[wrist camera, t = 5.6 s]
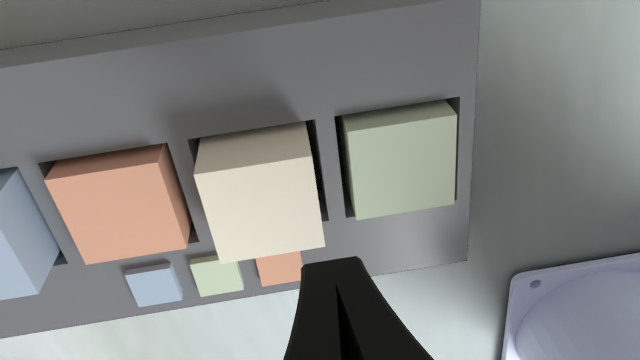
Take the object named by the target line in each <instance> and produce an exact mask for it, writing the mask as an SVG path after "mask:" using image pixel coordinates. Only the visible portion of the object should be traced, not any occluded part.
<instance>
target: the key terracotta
mask: <svg viewBox="0 0 640 360" xmlns="http://www.w3.org/2000/svg"><path fill="white" fill-rule="evenodd" d="M44 182H45V184H46V186H47V188H48V190H49V192H50V194H51V196H52V198H53V200H54V202H55V204H56V206H57V208H58V210H59V212H60V214H61V216H62V218H63V220H64V222H65V224H66V226H67V228H68V230H69V232H70V234H71V236H72V238H73V240H74V242H75V244H76V246H77V248H78V250H79V252H80V254H81V256H82V258H83V260H84V262H85V264H86V265H89V264H95V263H101V262H107V261H113V260H119V259H125V258H131V257H137V256H143V255H150V254H156V253H162V252H168V251H174V250H180V249H186V248H187V245H188V239H189V233H190V227H191V222H192V217H191V214H190V211H189V208H188V205H187V202H186V198H185V195H184V192H183V189H182V186H181V183H180V180H179V177H178V174H177V171H176V167H175V164H174V161H173V158H172V155H171V152H170V149H169V146H168V143H161V144H155V145H149V146H142V147H136V148H130V149H123V150H117V151H111V152H104V153H98V154H92V155H85V156H79V157H73V158H66V159H60V160H57V161H56V163H55V164H54V166H53V167H52V169H51V170H50V172H49V174H48V175H47V177H46V178H45V180H44Z"/></svg>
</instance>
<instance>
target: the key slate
mask: <svg viewBox="0 0 640 360" xmlns="http://www.w3.org/2000/svg"><path fill="white" fill-rule="evenodd" d="M60 250H61V249H60V247H59V245H58V243H57V241H56V239H55V237H54V235H53V234H52V232H51V230H50V228H49V226H48V224H47V222H46V220H45V218H44V216H43V214H42V212H41V211H40V209H39V207H38V205H37V203H36V201H35V199H34V197H33V195H32V193H31V191H30V189H29V188H28V186H27V184H26V182H25V180H24V178H23V176H22V174H21V172H20V170H19V168H18V167H17V166H16V167H9V168H3V169H0V300H6V299H12V298H18V297H24V296H30V295H36V294H39V292H40V290H41V288H42V286H43V284H44V282H45V280H46V278H47V276H48V274H49V272H50V270H51V268H52V266H53V264H54V262H55V260H56V258H57V256H58V254H59V252H60Z"/></svg>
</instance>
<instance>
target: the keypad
mask: <svg viewBox="0 0 640 360" xmlns="http://www.w3.org/2000/svg"><path fill="white" fill-rule="evenodd" d="M480 4H481V0H327V1H321V2H314V3H307V4H301V5H294V6H288V7H281V8H274V9H268V10H261V11H254V12H248V13H241V14H235V15H228V16H221V17H215V18H208V19H202V20H195V21H188V22H182V23H175V24H168V25H162V26H155V27H149V28H142V29H135V30H129V31H122V32H115V33H109V34H102V35H96V36H89V37H82V38H76V39H69V40H63V41H56V42H49V43H43V44H36V45H29V46H23V47H16V48H10V49H3V50H0V169H3V168H9V167H16V166H17V167H18V168H19V170H20V172H21V174H22V176H23V178H24V180H25V182H26V184H27V186H28V188H29V189H30V191H31V193H32V195H33V197H34V199H35V201H36V203H37V205H38V207H39V209H40V211H41V212H42V214H43V216H44V218H45V220H46V222H47V224H48V226H49V228H50V230H51V232H52V234H53V235H54V237H55V239H56V241H57V243H58V245H59V247H60V249H61V250H60V252H59V254H58V256H57V258H56V260H55V262H54V264H53V266H52V268H51V270H50V272H49V274H48V276H47V278H46V280H45V282H44V284H43V286H42V288H41V290H40V292H39V294H36V295H30V296H24V297H18V298H12V299H6V300H0V339H2V338H8V337H14V336H19V335H25V334H31V333H37V332H43V331H49V330H55V329H61V328H67V327H73V326H79V325H85V324H91V323H97V322H103V321H109V320H115V319H121V318H127V317H133V316H139V315H145V314H151V313H157V312H163V311H169V310H175V309H181V308H187V307H193V306H199V305H205V304H211V303H217V302H223V301H229V300H235V299H241V298H247V297H252V296H258V295H264V294H270V293H276V292H282V291H288V290H294V289H300V283H301V268H302V267H303V266H304V265H305V264H308V263H315V262H321V261H327V260H333V259H340V258H346V257H352V256H357V257H359V258H360V259H361V260H362V262H363V264H364V266H365V268H366V270H367V272H368V273H369V275H370V277H372V276H378V275H384V274H390V273H396V272H402V271H408V270H414V269H420V268H426V267H432V266H438V265H444V264H450V263H456V262H462V261H467V253H468V234H469V214H470V195H471V176H472V157H473V138H474V119H475V99H476V80H477V61H478V42H479V23H480ZM440 99H445V100H446V101H447V103H448V104H449V105H450V106H451V108H452V109H453V110H454V111H455V113H456V114H457V133H456V165H455V197H454V204H453V205H447V206H441V207H435V208H429V209H423V210H417V211H411V212H405V213H398V214H392V215H386V216H380V217H374V218H368V219H362V220H356V217H355V214H354V210H353V207H352V203H351V200H350V196H349V193H348V189H347V186H343V187H342V181H341V172H340V163H339V155H338V146H337V137H336V128H335V120H334V116H339V115H345V114H351V113H358V112H364V111H370V110H377V109H383V108H389V107H396V106H402V105H408V104H415V103H421V102H427V101H434V100H440ZM307 120H313V125H314V133H315V140H316V147H317V154H318V161H319V168H320V175H321V182H322V189H323V190H318V191H317V193H318V200H319V206H320V213H321V220H322V227H323V233H324V240H325V247H321V248H315V249H309V250H302V251H296V252H290V253H284V254H278V255H272V256H266V257H260V258H254V259H248V260H242V261H236V262H230V263H224V264H220V261H219V257H218V254H217V251H216V248H215V244H214V241H213V238H212V234H211V231H210V228H209V224H208V221H207V218H206V215H205V211H204V208H203V205H202V201H201V198H200V195H199V191H198V188H197V185H196V182H195V178H194V170H195V164H196V159H197V154H198V149H199V143H200V137H206V136H212V135H218V134H225V133H231V132H237V131H244V130H250V129H256V128H263V127H269V126H275V125H282V124H288V123H294V122H301V121H307ZM161 143H168V146H169V149H170V152H171V155H172V158H173V161H174V164H175V167H176V171H177V174H178V177H179V180H180V183H181V186H182V189H183V192H184V195H185V198H186V202H187V205H188V208H189V211H190V214H191V217H192V222H191V227H190V233H189V239H188V245H187V248H186V249H180V250H174V251H168V252H162V253H156V254H150V255H143V256H137V257H131V258H125V259H119V260H113V261H107V262H101V263H95V264H89V265H86V264H85V262H84V260H83V258H82V256H81V254H80V252H79V250H78V248H77V246H76V244H75V242H74V240H73V238H72V236H71V234H70V232H69V230H68V228H67V226H66V224H65V222H64V220H63V218H62V216H61V214H60V212H59V210H58V208H57V206H56V204H55V202H54V200H53V198H52V196H51V194H50V192H49V190H48V188H47V186H46V184H45V182H44V180H45V178H46V177H47V175H48V174H49V172H50V170H51V169H52V167H53V166H54V164H55V163H56V161H57V160H60V159H66V158H73V157H79V156H85V155H92V154H98V153H104V152H111V151H117V150H123V149H130V148H136V147H142V146H149V145H155V144H161Z"/></svg>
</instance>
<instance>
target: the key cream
mask: <svg viewBox="0 0 640 360" xmlns="http://www.w3.org/2000/svg"><path fill="white" fill-rule="evenodd" d="M194 178H195V182H196V185H197V188H198V191H199V195H200V198H201V201H202V205H203V208H204V211H205V215H206V218H207V221H208V224H209V228H210V231H211V234H212V238H213V241H214V244H215V248H216V251H217V254H218V257H219V261H220V264H224V263H230V262H236V261H242V260H248V259H254V258H260V257H266V256H272V255H278V254H284V253H290V252H296V251H302V250H309V249H315V248H321V247H325V240H324V233H323V227H322V220H321V213H320V206H319V200H318V193H317V186H316V179H315V173H314V166H313V159H312V153H311V148H310V143H309V138H308V133H307V128H306V123H305V121H301V122H294V123H288V124H282V125H275V126H269V127H263V128H256V129H250V130H244V131H237V132H231V133H225V134H218V135H212V136H206V137H201V138H200V143H199V149H198V154H197V159H196V164H195V170H194Z"/></svg>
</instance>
